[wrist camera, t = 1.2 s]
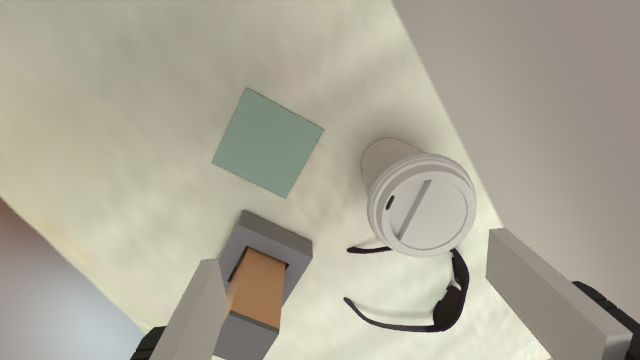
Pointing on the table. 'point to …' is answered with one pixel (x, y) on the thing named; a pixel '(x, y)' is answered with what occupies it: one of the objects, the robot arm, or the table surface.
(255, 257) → the plug
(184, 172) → the table surface
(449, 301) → the sunglasses
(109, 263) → the table surface
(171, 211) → the table surface
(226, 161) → the pad
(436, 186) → the coffee cup
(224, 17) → the table surface
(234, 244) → the grey square frame
